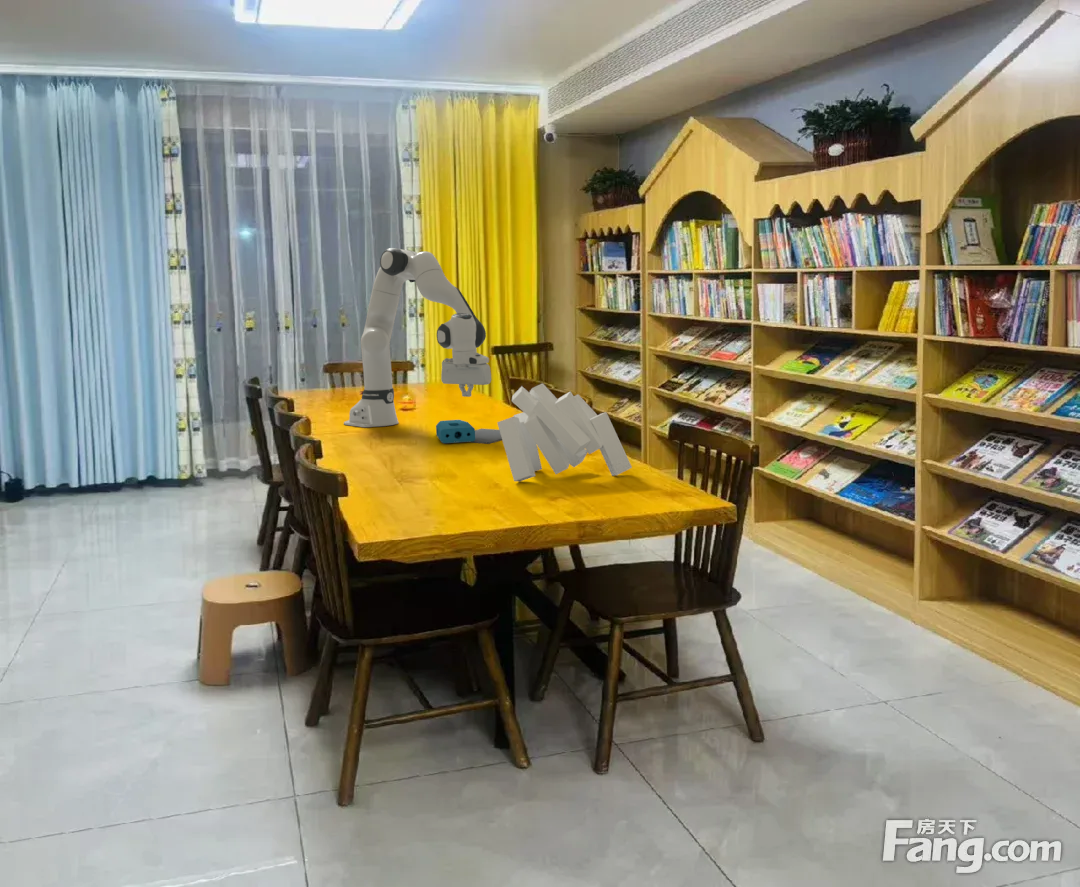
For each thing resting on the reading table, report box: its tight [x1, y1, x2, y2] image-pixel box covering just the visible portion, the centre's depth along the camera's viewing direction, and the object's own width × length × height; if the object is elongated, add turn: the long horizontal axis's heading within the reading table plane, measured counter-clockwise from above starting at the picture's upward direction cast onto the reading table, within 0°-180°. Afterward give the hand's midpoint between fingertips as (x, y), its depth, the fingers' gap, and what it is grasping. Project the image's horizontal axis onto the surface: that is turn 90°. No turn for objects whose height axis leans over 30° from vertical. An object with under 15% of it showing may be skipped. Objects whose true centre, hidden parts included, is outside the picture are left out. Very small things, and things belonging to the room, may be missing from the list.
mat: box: [469, 428, 503, 445], centre depth 379 cm, size 20×24×1 cm
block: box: [435, 419, 476, 444], centre depth 374 cm, size 12×5×20 cm
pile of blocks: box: [497, 383, 633, 482], centre depth 304 cm, size 35×30×35 cm
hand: (466, 396), depth 381 cm, fingers closed
